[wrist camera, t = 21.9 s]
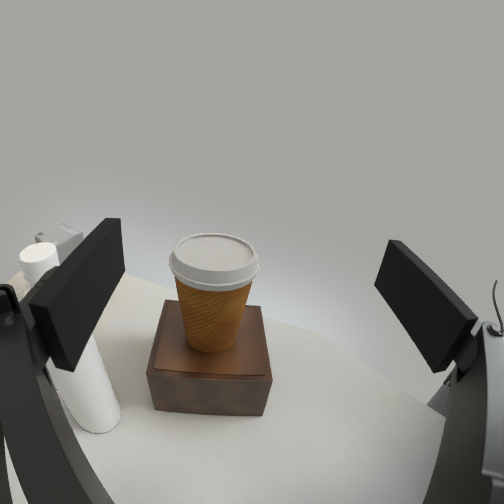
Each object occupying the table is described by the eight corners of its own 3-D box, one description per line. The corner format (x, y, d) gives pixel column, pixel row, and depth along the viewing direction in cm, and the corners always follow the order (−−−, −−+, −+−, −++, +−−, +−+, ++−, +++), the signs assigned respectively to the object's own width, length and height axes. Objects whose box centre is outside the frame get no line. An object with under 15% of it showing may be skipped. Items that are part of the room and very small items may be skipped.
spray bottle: (113, 388, 32) (70, 213, 21) (128, 426, 28) (71, 243, 17) (71, 398, 29) (6, 225, 18) (81, 438, 24) (-9, 259, 13)
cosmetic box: (102, 311, 46) (88, 231, 39) (73, 329, 40) (51, 246, 33) (78, 293, 49) (65, 219, 42) (51, 309, 43) (32, 232, 36)
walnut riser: (253, 343, 45) (260, 304, 42) (262, 415, 33) (273, 380, 29) (168, 338, 44) (165, 298, 40) (155, 409, 31) (145, 372, 28)
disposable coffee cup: (246, 313, 39) (256, 234, 34) (251, 365, 31) (266, 276, 26) (177, 309, 38) (176, 228, 33) (168, 360, 30) (160, 269, 24)
